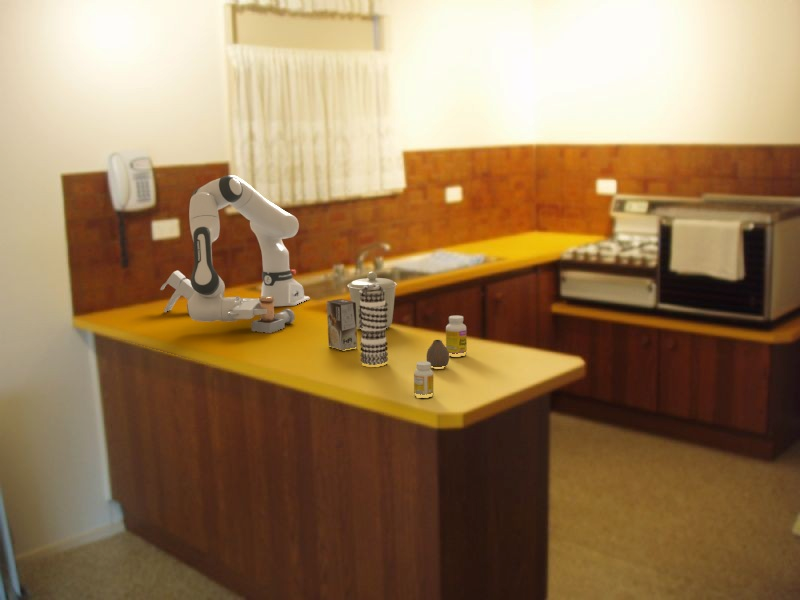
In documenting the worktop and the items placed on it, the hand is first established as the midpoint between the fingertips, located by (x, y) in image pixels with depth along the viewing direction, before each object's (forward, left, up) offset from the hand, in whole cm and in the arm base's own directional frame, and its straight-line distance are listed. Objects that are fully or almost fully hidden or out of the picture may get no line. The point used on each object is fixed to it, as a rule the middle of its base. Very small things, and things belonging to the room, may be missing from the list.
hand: (269, 308), depth 345 cm
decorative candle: (+24, +61, -8) cm, 67 cm away
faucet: (-12, -52, -8) cm, 54 cm away
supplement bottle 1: (+47, +92, -8) cm, 104 cm away
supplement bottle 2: (+3, +79, -8) cm, 80 cm away
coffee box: (+11, +40, -8) cm, 43 cm away
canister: (-19, +33, -8) cm, 39 cm away
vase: (+19, +81, -8) cm, 84 cm away
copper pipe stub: (0, -1, -8) cm, 8 cm away
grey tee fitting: (-4, -1, -8) cm, 9 cm away
